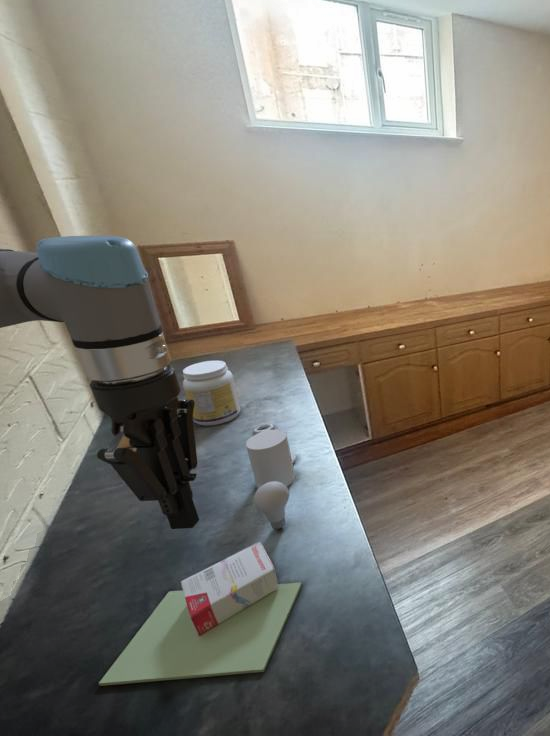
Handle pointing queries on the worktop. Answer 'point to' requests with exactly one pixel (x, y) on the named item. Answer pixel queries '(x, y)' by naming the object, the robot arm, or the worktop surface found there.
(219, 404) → the supplement tub
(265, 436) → the cup
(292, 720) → the worktop surface
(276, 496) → the lightbulb
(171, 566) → the worktop surface
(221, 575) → the ink box
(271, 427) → the wrench
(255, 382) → the worktop surface
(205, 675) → the mat
